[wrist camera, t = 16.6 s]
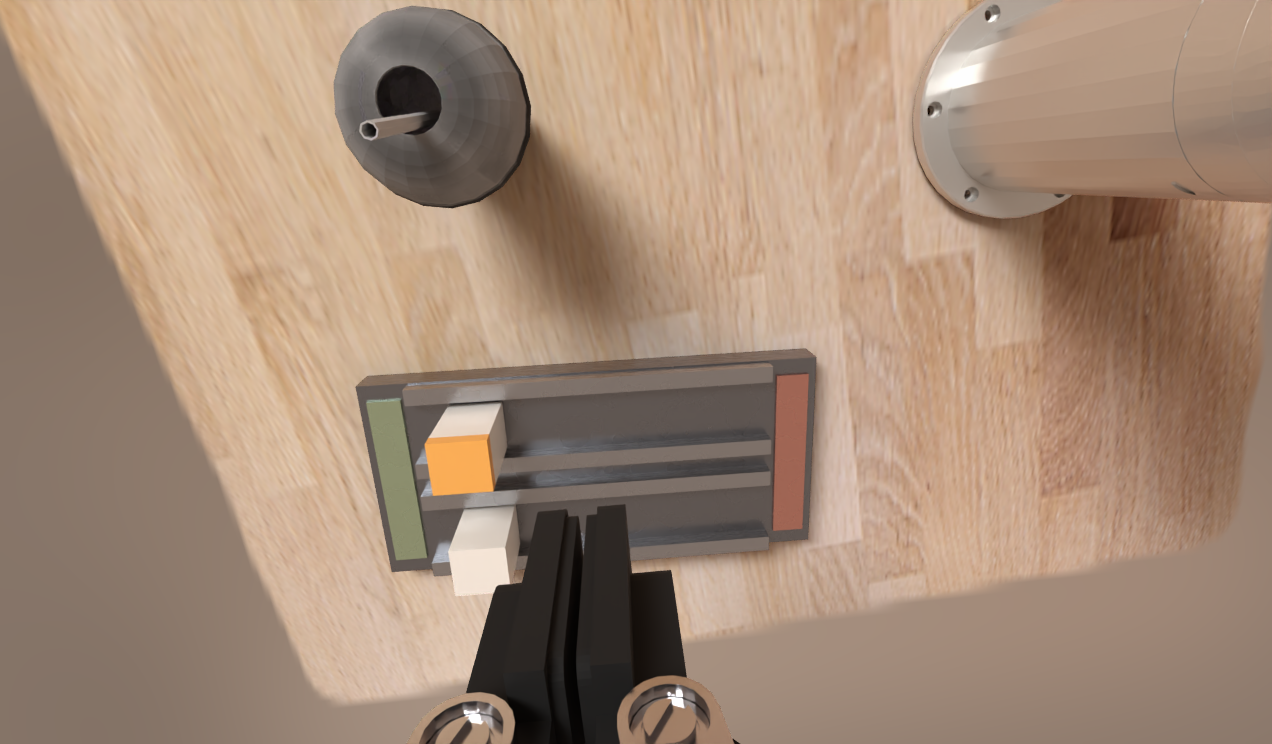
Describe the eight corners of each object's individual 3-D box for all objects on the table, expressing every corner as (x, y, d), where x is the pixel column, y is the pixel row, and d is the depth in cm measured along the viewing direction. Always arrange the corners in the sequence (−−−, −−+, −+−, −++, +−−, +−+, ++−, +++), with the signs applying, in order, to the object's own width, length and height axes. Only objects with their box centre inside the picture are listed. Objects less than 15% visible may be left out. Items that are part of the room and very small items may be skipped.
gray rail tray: (805, 348, 40) (822, 361, 37) (798, 523, 44) (812, 547, 41) (367, 376, 39) (349, 392, 36) (400, 554, 43) (387, 581, 40)
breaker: (515, 502, 40) (505, 547, 35) (520, 543, 41) (510, 591, 36) (465, 506, 40) (448, 551, 35) (471, 546, 41) (455, 596, 36)
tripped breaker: (501, 401, 38) (486, 439, 32) (507, 446, 39) (493, 491, 33) (449, 404, 38) (424, 444, 32) (455, 449, 39) (433, 495, 33)
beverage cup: (542, 55, 34) (480, -93, 15) (556, 193, 36) (518, 214, 17) (408, 64, 34) (172, -76, 15) (431, 202, 36) (252, 235, 17)
